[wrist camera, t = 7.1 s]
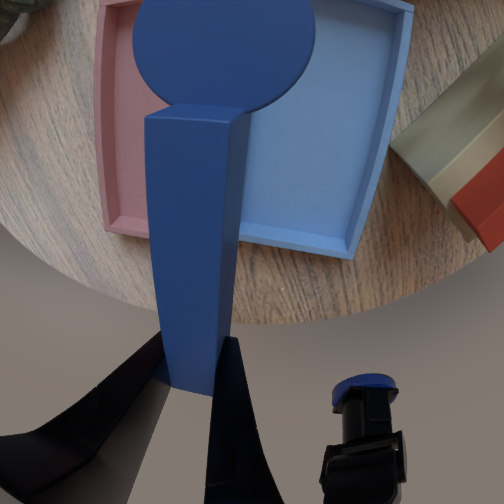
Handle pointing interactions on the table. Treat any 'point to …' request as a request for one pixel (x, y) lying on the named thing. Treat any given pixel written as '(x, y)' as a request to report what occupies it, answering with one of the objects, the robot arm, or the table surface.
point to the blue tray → (328, 132)
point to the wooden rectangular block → (458, 133)
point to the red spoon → (484, 202)
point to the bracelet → (17, 12)
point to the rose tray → (121, 120)
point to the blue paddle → (207, 154)
